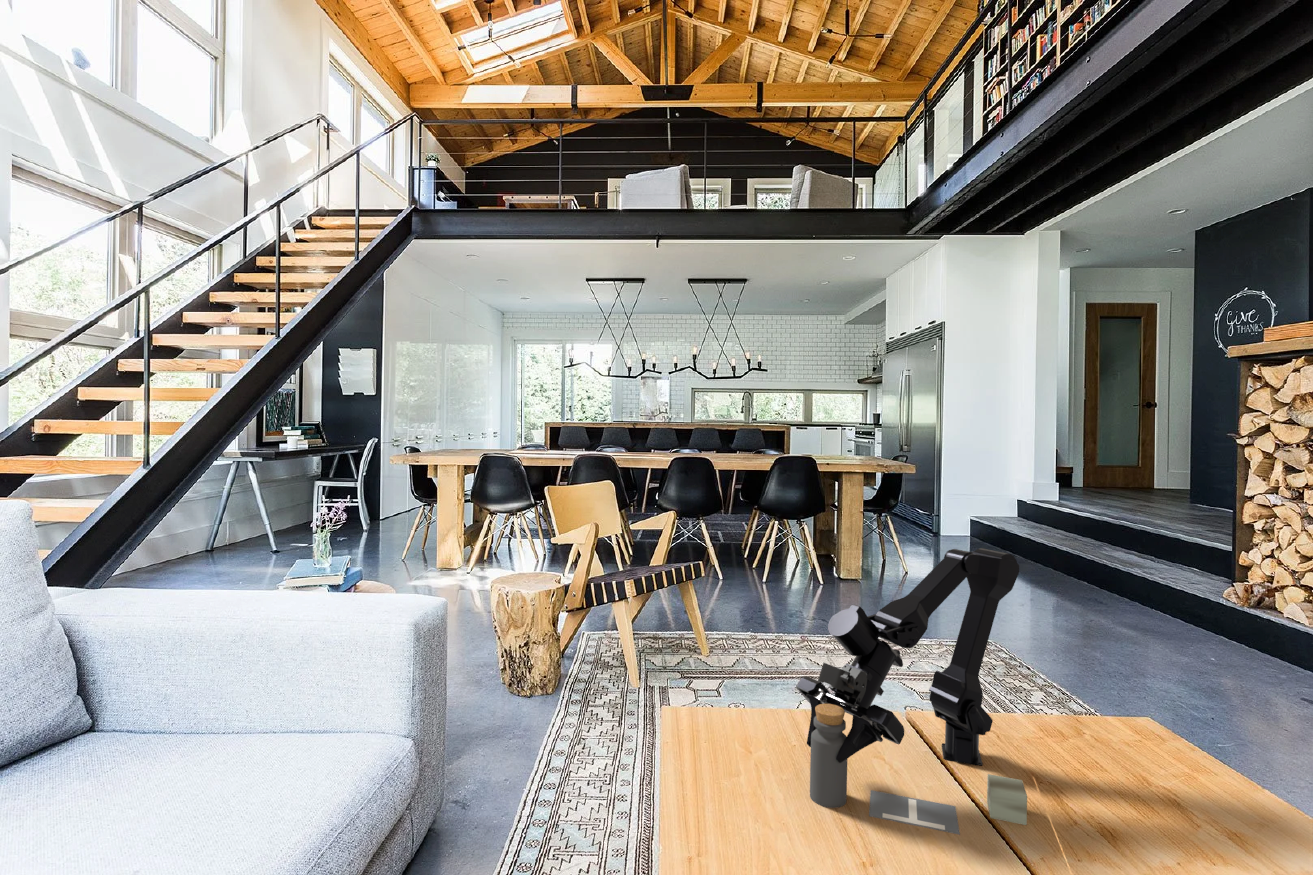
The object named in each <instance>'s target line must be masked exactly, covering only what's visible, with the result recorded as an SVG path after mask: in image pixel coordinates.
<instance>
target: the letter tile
mask: <svg viewBox="0 0 1313 875" xmlns="http://www.w3.org/2000/svg"><path fill="white" fill-rule="evenodd" d="M869 794H870V796H869V806H868V807H869V809H868V817H872V818H875V819H881V820H887V821H891V822H895V823H900V824H905V825H911V826H916V827H920V828H925V829H931V830H935V831H938V832H939V831H940V832H945V833H950V834H954V835H959V836H960V835H961V833H960V832H961V831H960V827H959V821H958V814H957V808H956V806H955V805H952V804H946V803H941V802H937V801H930V800H926V799H920V798H915V797H910V796H904V795H899V794H894V793H888V792H885V791H877V790H873V789H870V793H869Z"/></svg>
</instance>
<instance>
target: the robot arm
mask: <svg viewBox="0 0 1313 875" xmlns="http://www.w3.org/2000/svg"><path fill="white" fill-rule="evenodd" d="M1019 573H1020V564H1018V560H1017V558H1016V557H1015V556H1014V555H1013V554H1011V553H1007V552H1003V551H997V550H991V549H987V548H983V547H980V548H977V549H976V550H974V551H968V550H963V549H962V550H961V549H957V548H953V549H948V550H947V551H946V552H945V554H944V557H943V558H942V559H941V561H940V562H938V564H937V565H935V567H934V568H932V570H931V571H930V572H928V574H927V575H926V576H925V577H924V578H923V579H922V580H920V582H918V584H917V585H916V586H915V587H914V588H913V589H912V590H911V591H910V592H909V593H908V594H907V595H905V596H903V597H901V598H898V599H895V600H892V601H890V602H888V604H886V605H885V606H883V607H882V608H881V609H879V610H878V611H877V613H875V614H871V615H867V614H866V612H865V610H864V609H863V607H862V606H859V605H857V604H855V603H853V604H851V605H850V607H848V608H845V609H842V610H840V611H838V612H837V613H836V614H833V615H832V616H831V618H830V619H829V622H828V625H827V629H828V632H829V634H830V635H831V636H832V637H833V639H834V640H836V641H837V643H838V644H839V645H841V647H842V648H843V649H844V650H845V651H846V652H847V653H848V654H849V655H850V656H854V659H853V661H852V662H851V664H848V663H845V664H844V665H843V666H842V667H841V668H840V667H837V666H834V665H831V664H829V663H826V662H822V666H821V669H820V673H819V676H818V680H817V679H814V678H812V677H809V676H806V675H805V676H803V677H801V678H800V679H799V680H798V682H797V685H796V686H795V688H796V689H797V691H799V693H800V694H801V695H802V696H803V697H804V698H805V700H806V701H807V702H808V704H809V705H810V709H811V710H810V711H811V713H810V720H809V726H808V727H809V728H808V734H807V739H806V745H807V746H808V747H809V748H811V734H812V732H813V731H814V730H816V729H817V728H816V727H815V726H814V717H815V716H816V711H815V707H816V706H817V705H819V704H833V705H837V706H839V707H841V708H843V709H844V711H845V713H846V714H847V715H850V716H852V721H851V722H852V723H851V728H850V730H849V732H848V733H847V735H846V736H847V737H846V739H845V741H844V743H843V744H842V746H841V748H840V750H839V752H838V755H837V757H836V760H837V761H838V762H839V763H841V762H843V761H844V760H846V759H847V760H848V759H849V758H850V757H852V756H853V755H855V754H857V753H858V752H860V751H861V750H862V749H864V748H866V747H869V746H871V745H872V744H874V743H875V742H880V743H882V742H883V740H884V739H885V740H887V741H889V742H890V743H891V742H892V743H894V744H896V745H900V744H901V742H902V741H903V738H904V736H905V727H904V725H903V724H902V722H901V721H900V720H899V719H898V717H897V716H896V715H895V713H893V711H891V710H889V709H886V708H884V707H882V706H879V705H877V704H873V702H874V700H875V698H876V696H880V697H882V695H883V694H884V692H885V690H883V687H882V685H883V683H884V681H885V680H886V678H887V676H888V674H889V672H890V670H891V669H892V667H893V666H896V667H899V668H902V667H903V666H904V663H903V659H902V657H901V651H900V650H898V649H895V648H892V647H891V646H890V645H889V643H891V644H894V645H896V646H898V647H900V648H903V649H912V648H914V647H915V646H917V644H918V643H919V641H921V639H922V637H923V636H924V634H925V633H926V632H927V630H928V627H929V626H928V624H929V618H930V617H931V616H932V614H933V613H934V612H935V611H936V610H937V609H938V607H939V606H940V605H941V604H943V602H944V601H945V600H947V598H948V597H949V596H950V595H951V594H953V592H954V591H955V590H956V589H957V588H958V587H959V586H960V585H961V583H963V582H964V580H965V579H967V580H966V581H967V583H968V588H969V591H970V592H969V596H968V601H967V602H966V604H967V605H966V607H965V611H964V615H963V617H962V621H961V625H960V627H959V632H958V635H957V639H956V642H955V645H954V649H953V652H952V657H951V660H950V663H949V665H948V666H947V667H946V668H945V669H944V670H942V671H939V670H935V672H934V673H933V678H932V681H931V682H932V683H931V685H930V687H929V688H928V691H929V692H930V693H929V694H930V695H929V702H930V703H931V706H932V707H933V712H934V715H935V717H936V718H938V719H941V720H943V721H945V733H944V736H945V738H944V743H943V742H942V743H941V752H942V759H943V760H945V761H948V762H954V763H960V764H965V765H966V764H967V765H972V766H977V767H983V765H984V764H983V760H982V756H981V752H980V750H979V748H980V745H979V744H980V743H979V742H980V736H986V733H988V732H990V731H991V728H992V725H993V719H992V717H991V716H990V715H989V714H988V713H987V711H986V710H985V709H984V708H983V707H982V703H983V696H984V693H983V689H982V685H981V682H980V677H979V674H980V670H981V667H982V663H983V660H984V656H985V653H986V650H987V645H988V642H989V638H990V635H991V632H992V627H993V624H994V621H995V617H996V613H997V610H998V606H999V602H1000V601H1001V600H1002V599H1003V598H1005V597H1006V595H1008V594H1009V593H1010V592H1011V591H1012V590H1013V589H1014V587H1015V583H1016V581H1017V579H1018V576H1019ZM888 642H889V643H888ZM823 683H825V684H827V685H829V686H828V688H829V689H830V690H831V691H832V692H833V693H834V694H833V693H831V692H830V691H829V690H828V689H827V687H826V686H825V685H824V684H823Z"/></svg>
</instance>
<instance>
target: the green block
mask: <svg viewBox="0 0 1313 875" xmlns="http://www.w3.org/2000/svg"><path fill="white" fill-rule="evenodd" d="M986 779H987V786H986V787H987V789H986V804H987V807H988V813H989V818H990V819H995V820H1000V821H1005V822H1008V823H1013V824H1019V825H1022V826H1023V825H1024V826H1027V824H1028V823H1027V822H1028V794H1027V791H1026V789H1025V788H1026V787H1025V785H1024V782H1023V779H1017V778H1011V777H1007V776H1006V777H1005V776H1002V775H996V774H989V773H987V778H986Z"/></svg>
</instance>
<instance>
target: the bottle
mask: <svg viewBox="0 0 1313 875" xmlns="http://www.w3.org/2000/svg"><path fill="white" fill-rule="evenodd" d="M815 711H816V716H815V717H814V726H815V727H816V728H817V729H816V730H814V731H813V732H812V734H811V747H810V765H809V766H810V769H809V772H810V773H809V797H810V800H811V801H812V802H814V803H815V804H816V805H819V806H821V807H824V808H830V809H838V808H841V807H843V806H845V805H846V803H847V796H848V795H847V794H848V793H847V792H848V791H847V790H848V789H847V788H848V787H847V786H848V758H847V759H846V760H844V761H843V762H841V763H839V762H838V761H837V760H836V757H837V755H838V752H839V750H840V748H841V746H842V744H843V743H844V741H845V739H846V737H847V735H846V734H845V733H844V731H845V730H846V728H847V725H846V722H847V721H846V720H845V719H844V717H845V713H846V712H845V711H844V709H843V708H841V707H839V706H837V705H833V704H819V705H817V706H816V707H815Z"/></svg>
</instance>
